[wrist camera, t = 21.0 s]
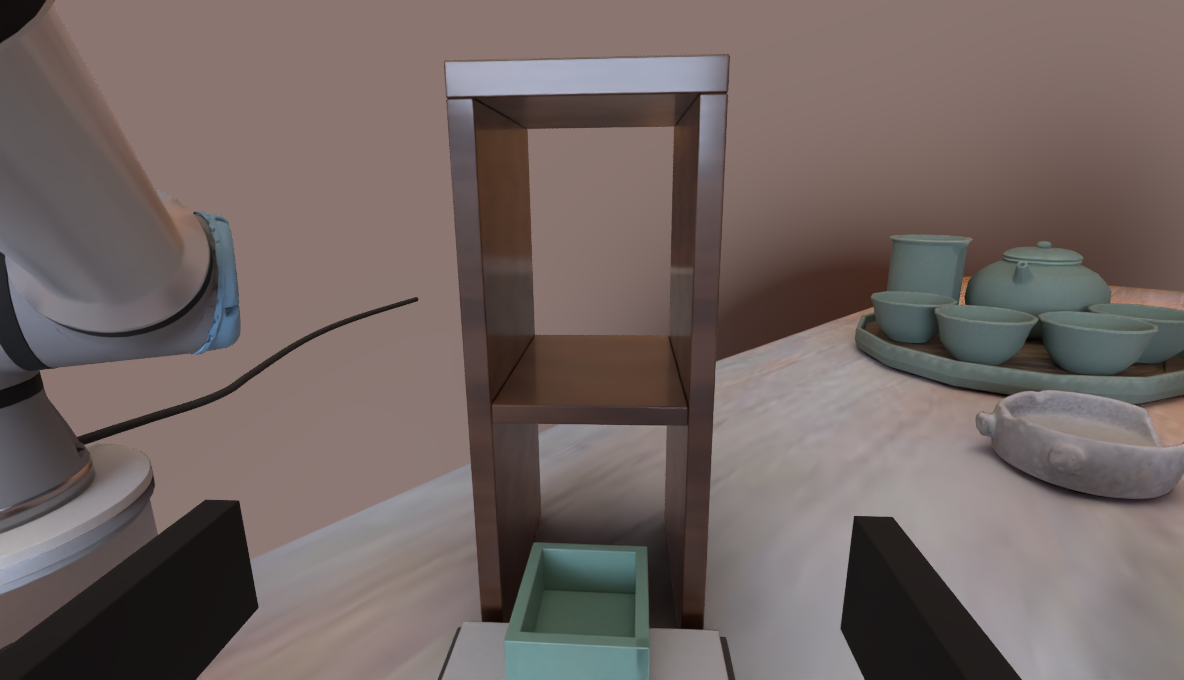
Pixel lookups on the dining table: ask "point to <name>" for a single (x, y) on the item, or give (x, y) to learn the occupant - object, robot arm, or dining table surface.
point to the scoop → (581, 614)
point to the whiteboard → (676, 667)
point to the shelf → (583, 362)
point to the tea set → (1019, 325)
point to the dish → (1083, 443)
